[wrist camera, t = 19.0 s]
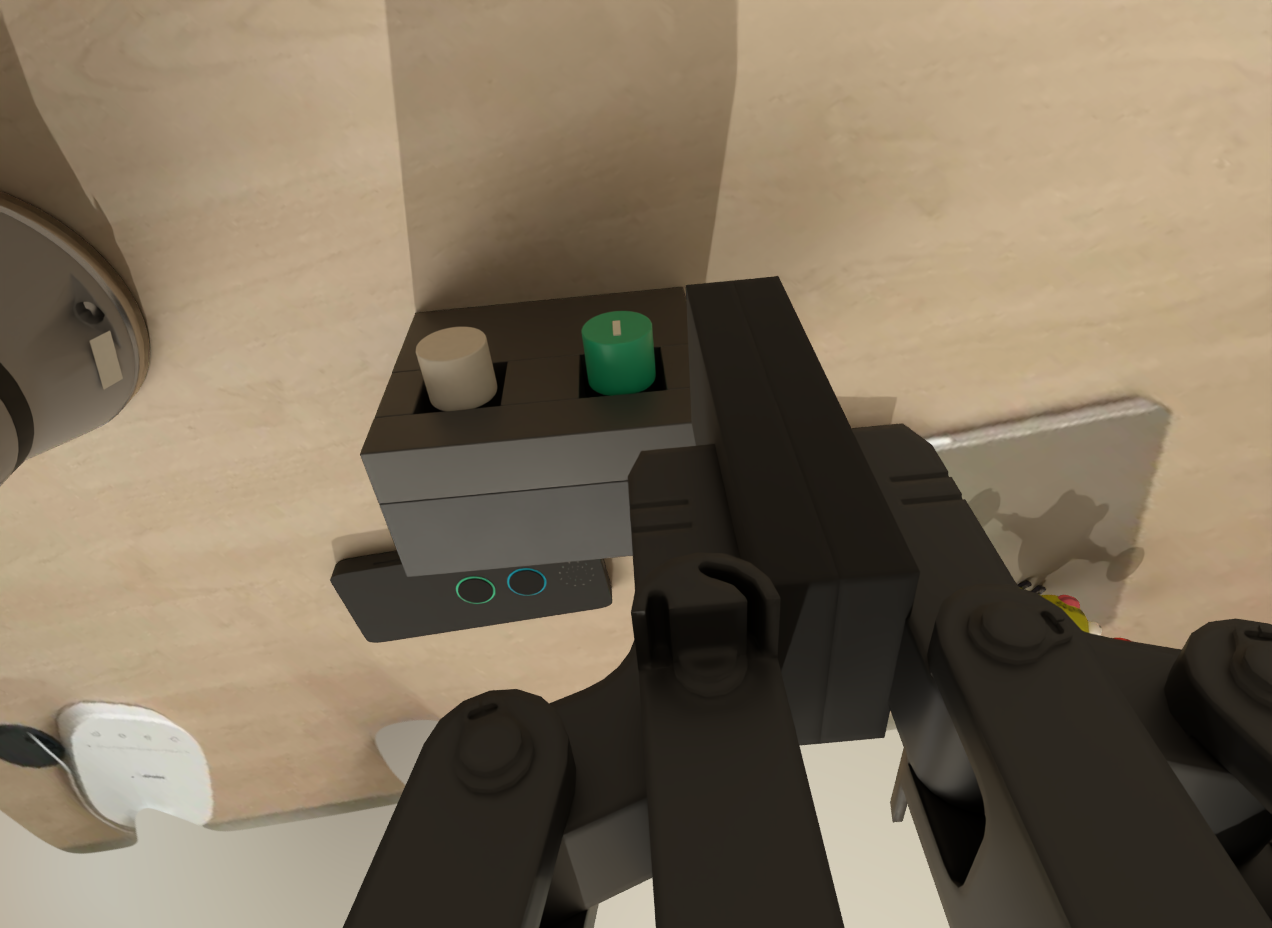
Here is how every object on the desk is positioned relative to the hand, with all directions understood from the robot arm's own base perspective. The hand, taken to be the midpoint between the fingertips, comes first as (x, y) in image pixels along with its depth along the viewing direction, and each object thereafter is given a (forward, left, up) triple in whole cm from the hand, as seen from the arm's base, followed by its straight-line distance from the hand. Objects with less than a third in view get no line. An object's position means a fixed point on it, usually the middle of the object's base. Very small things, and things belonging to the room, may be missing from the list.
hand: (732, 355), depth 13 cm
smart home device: (+11, -37, -31) cm, 49 cm away
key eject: (0, -16, -23) cm, 28 cm away
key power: (+6, -11, -23) cm, 26 cm away
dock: (+6, -17, -30) cm, 35 cm away
